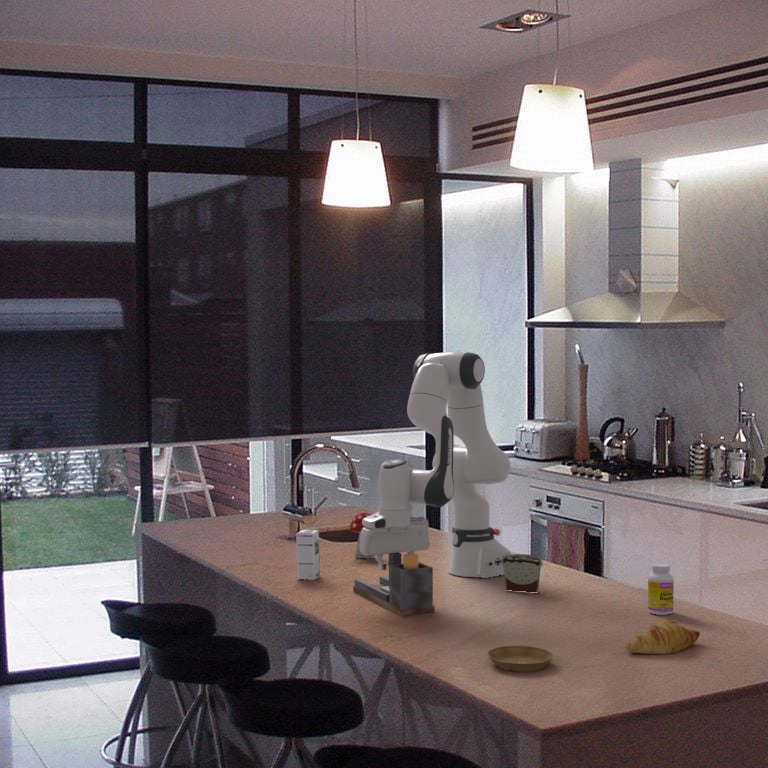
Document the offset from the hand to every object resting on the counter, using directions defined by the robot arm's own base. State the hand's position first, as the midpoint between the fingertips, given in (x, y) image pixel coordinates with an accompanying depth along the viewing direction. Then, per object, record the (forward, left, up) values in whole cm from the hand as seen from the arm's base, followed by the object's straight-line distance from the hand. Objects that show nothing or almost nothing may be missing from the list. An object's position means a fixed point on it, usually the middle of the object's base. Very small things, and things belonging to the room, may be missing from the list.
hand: (395, 568), depth 323 cm
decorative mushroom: (-18, -62, -10) cm, 65 cm away
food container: (-40, +3, -10) cm, 41 cm away
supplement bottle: (-58, +42, -10) cm, 72 cm away
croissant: (-37, +70, -10) cm, 79 cm away
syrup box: (+10, -41, -10) cm, 43 cm away
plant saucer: (0, +66, -10) cm, 67 cm away
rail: (0, -2, -10) cm, 10 cm away
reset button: (0, +10, -1) cm, 10 cm away
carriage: (0, 0, -8) cm, 8 cm away
